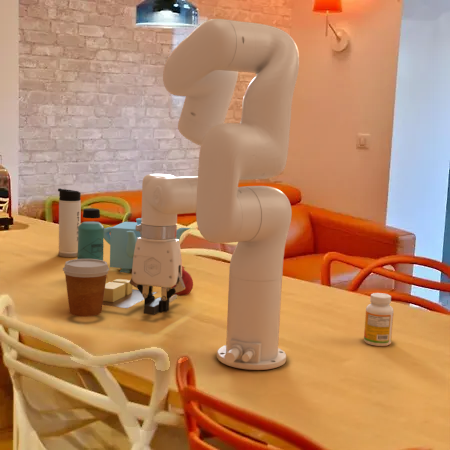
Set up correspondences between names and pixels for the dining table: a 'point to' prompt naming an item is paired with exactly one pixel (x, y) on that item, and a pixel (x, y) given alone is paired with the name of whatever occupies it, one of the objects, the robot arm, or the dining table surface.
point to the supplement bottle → (379, 320)
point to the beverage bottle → (90, 236)
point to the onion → (185, 283)
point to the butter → (114, 291)
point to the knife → (155, 305)
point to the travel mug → (69, 222)
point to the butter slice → (127, 285)
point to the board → (127, 300)
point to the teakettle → (125, 243)
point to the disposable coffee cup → (85, 285)
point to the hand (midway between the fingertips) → (156, 315)
